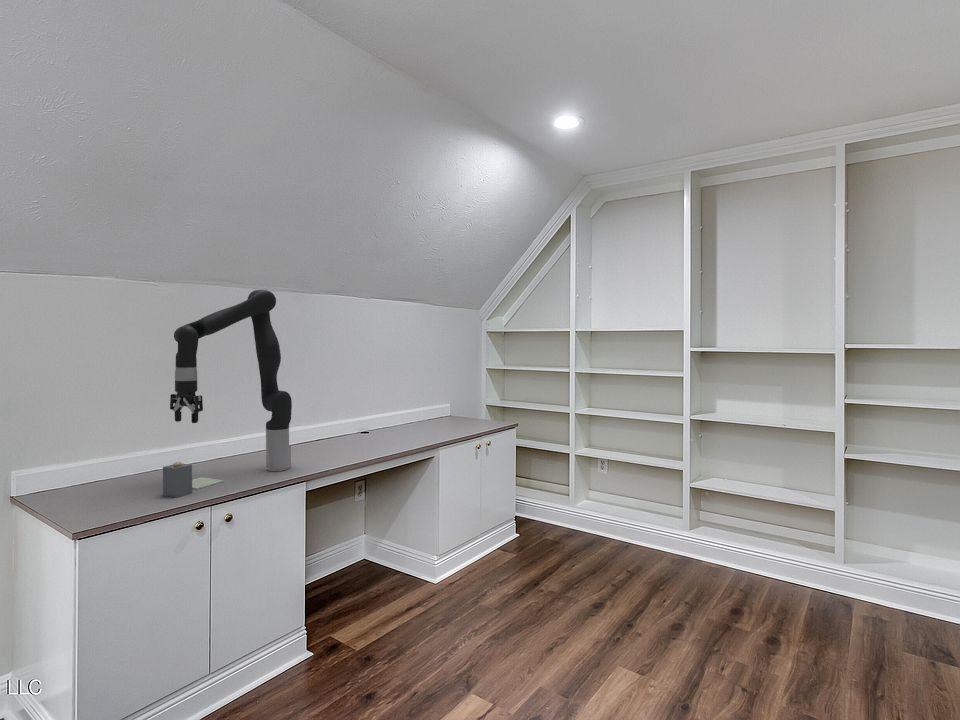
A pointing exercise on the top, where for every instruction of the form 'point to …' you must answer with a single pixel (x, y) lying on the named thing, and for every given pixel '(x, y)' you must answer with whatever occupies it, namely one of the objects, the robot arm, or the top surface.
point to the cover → (177, 479)
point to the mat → (204, 482)
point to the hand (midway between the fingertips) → (186, 422)
